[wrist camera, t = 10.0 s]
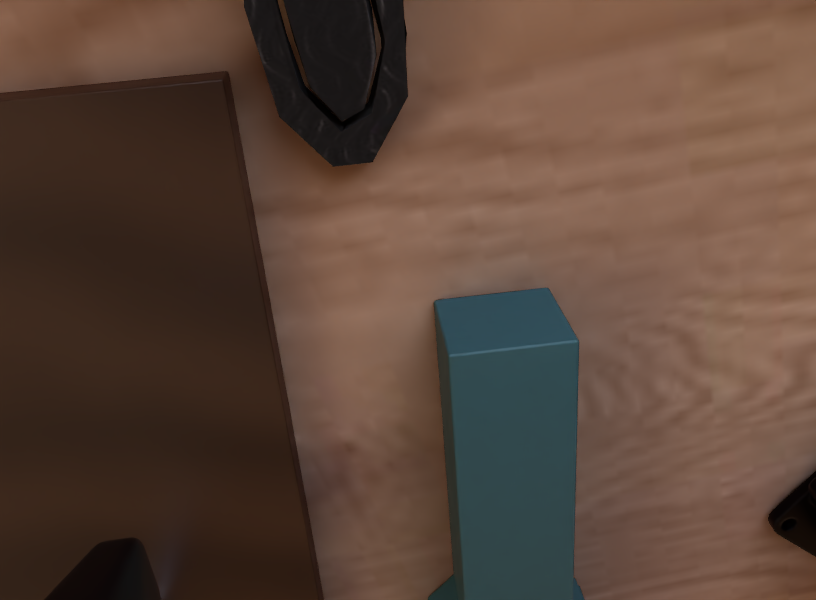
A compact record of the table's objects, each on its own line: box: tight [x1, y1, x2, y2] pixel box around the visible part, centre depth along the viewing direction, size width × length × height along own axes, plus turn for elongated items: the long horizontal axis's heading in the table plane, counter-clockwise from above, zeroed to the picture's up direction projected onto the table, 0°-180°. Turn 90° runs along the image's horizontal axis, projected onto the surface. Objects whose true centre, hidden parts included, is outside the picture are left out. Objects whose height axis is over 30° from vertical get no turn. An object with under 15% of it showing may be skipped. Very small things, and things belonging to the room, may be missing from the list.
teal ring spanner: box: [428, 288, 585, 600], centre depth 23 cm, size 15×5×3 cm, turn 4°
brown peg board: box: [0, 71, 324, 600], centre depth 19 cm, size 19×10×6 cm, turn 4°
